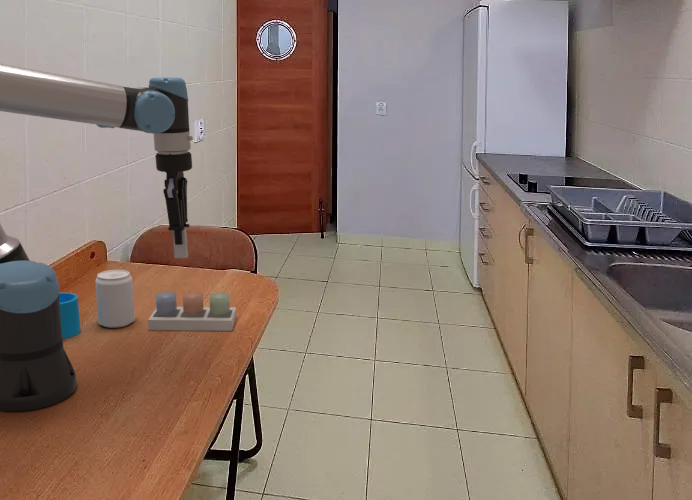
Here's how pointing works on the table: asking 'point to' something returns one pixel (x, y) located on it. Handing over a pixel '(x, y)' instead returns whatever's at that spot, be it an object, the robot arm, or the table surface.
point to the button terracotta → (193, 303)
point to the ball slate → (166, 302)
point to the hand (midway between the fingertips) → (181, 257)
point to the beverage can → (114, 298)
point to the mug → (69, 314)
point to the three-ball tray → (193, 320)
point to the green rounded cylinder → (219, 303)
